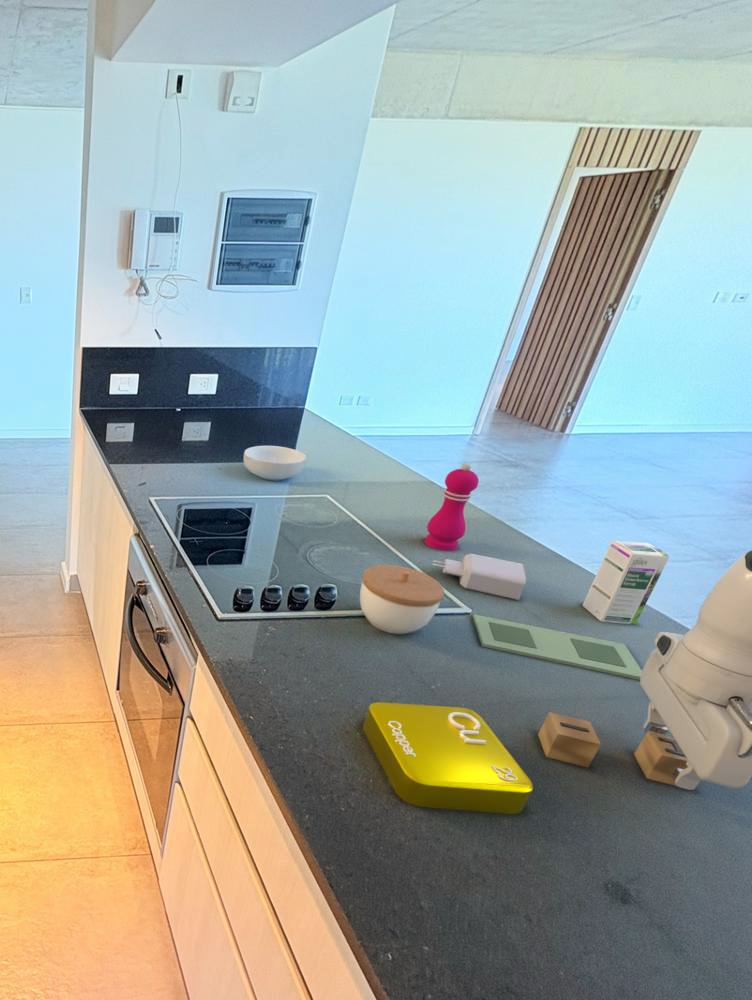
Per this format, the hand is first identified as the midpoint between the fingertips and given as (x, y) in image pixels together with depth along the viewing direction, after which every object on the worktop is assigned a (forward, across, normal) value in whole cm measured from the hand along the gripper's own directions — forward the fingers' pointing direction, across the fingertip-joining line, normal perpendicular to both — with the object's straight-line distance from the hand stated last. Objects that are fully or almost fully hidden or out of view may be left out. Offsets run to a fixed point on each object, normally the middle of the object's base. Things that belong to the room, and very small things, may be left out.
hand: (666, 758), depth 81 cm
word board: (+3, +27, +6) cm, 28 cm away
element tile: (+3, -11, +26) cm, 29 cm away
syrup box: (+3, +44, -6) cm, 45 cm away
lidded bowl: (+3, +24, +31) cm, 39 cm away
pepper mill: (+3, +64, +19) cm, 67 cm away
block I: (+3, -1, +11) cm, 11 cm away
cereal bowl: (+3, +95, +59) cm, 112 cm away
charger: (+3, +48, +15) cm, 50 cm away
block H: (+3, 0, 0) cm, 3 cm away
